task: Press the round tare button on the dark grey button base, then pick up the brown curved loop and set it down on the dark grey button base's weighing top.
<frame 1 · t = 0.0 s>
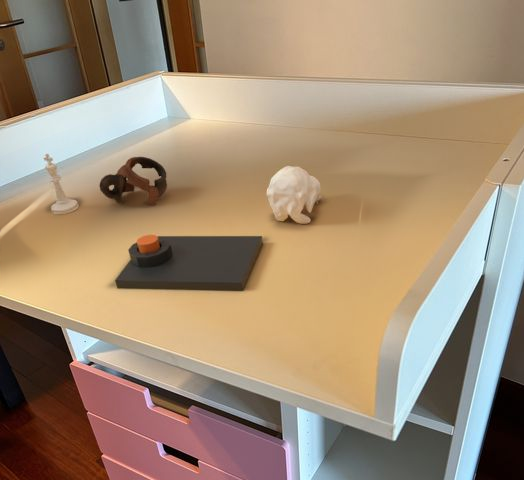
white animal figurine: (300, 214, 91), on the table
brown curved loop: (137, 201, 102), on the table
tare button: (148, 244, 80), point 3 cm above the table, slide at 0.1 cm
chess piece: (65, 209, 103), on the table
dark grey button base: (192, 265, 81), on the table
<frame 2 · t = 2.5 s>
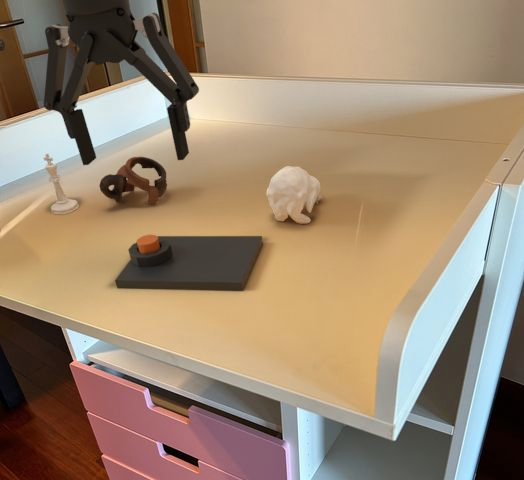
hand: (135, 159, 76), 14 cm above the table, tool pointing down, fingers open, 13 cm apart
nothing on the table moved.
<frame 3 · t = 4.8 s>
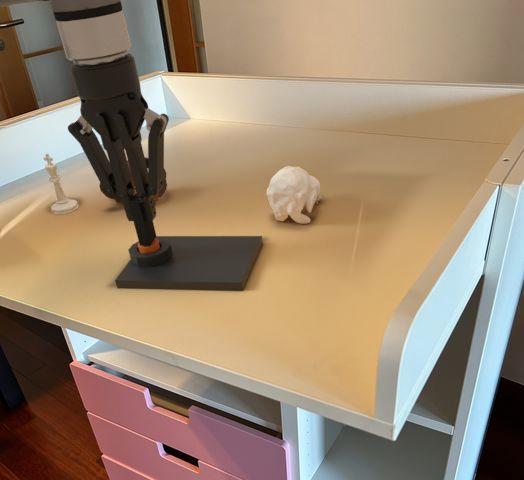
hand: (148, 240, 79), 4 cm above the table, tool pointing down, fingers closed
tare button: (149, 247, 80), point 3 cm above the table, slide at -0.3 cm, touching gripper
everything else where it was.
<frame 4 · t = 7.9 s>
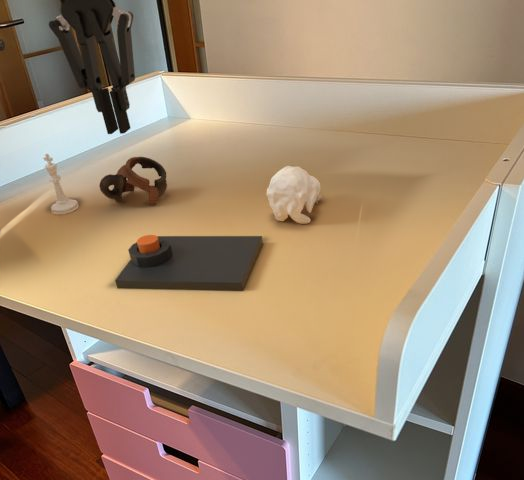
hand: (119, 130, 94), 12 cm above the table, tool pointing down, fingers closed
tare button: (148, 244, 80), point 3 cm above the table, slide at 0.1 cm
everything else where it was.
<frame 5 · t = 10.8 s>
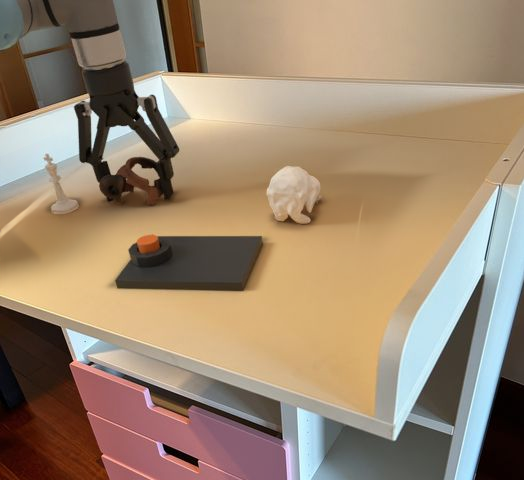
hand: (140, 197, 102), 1 cm above the table, tool pointing down, fingers closed on brown curved loop, 10 cm apart
brown curved loop: (136, 201, 102), on the table, touching gripper
everything else where it was.
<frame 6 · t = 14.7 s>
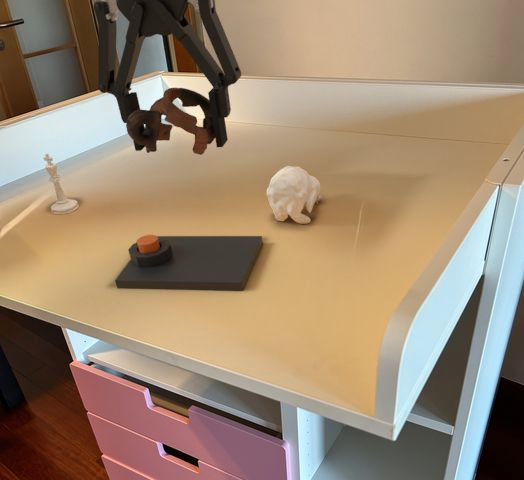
hand: (181, 145, 73), 16 cm above the table, tool pointing down, fingers closed on brown curved loop, 10 cm apart
brown curved loop: (175, 152, 74), point 15 cm above the table, touching gripper
everything else where it was.
when the fingers open (2 cm above the table, at t = 18.9 s): brown curved loop stays where it is, resting on dark grey button base.
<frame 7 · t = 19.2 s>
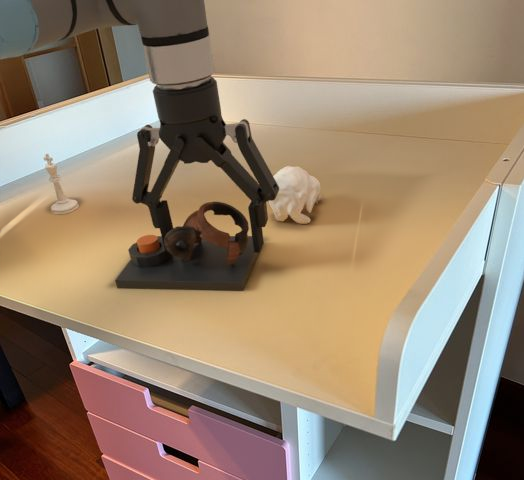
hand: (214, 247, 78), 3 cm above the table, tool pointing down, fingers open, 12 cm apart
brown curved loop: (208, 258, 79), point 1 cm above the table, touching dark grey button base
everything else where it was.
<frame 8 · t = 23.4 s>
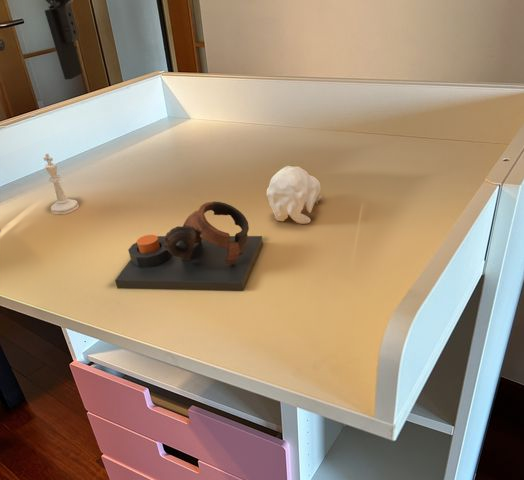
hand: (20, 80, 64), 27 cm above the table, tool pointing down, fingers open, 13 cm apart
nothing on the table moved.
at the end: tare button pushed in 0.8 cm at the most during the clip, back to where it started at the end; brown curved loop touching dark grey button base; brown curved loop inside the target area on the dark grey button base (0.4 cm from its centre), point 1.2 cm above the dark grey button base's base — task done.
